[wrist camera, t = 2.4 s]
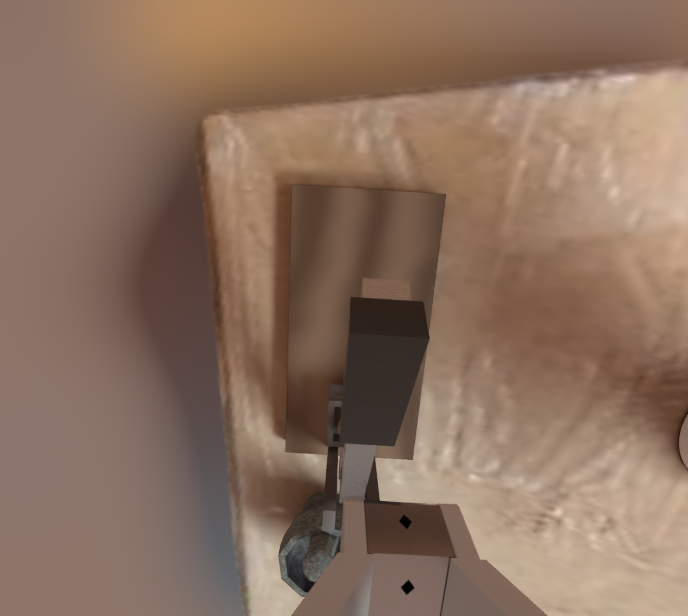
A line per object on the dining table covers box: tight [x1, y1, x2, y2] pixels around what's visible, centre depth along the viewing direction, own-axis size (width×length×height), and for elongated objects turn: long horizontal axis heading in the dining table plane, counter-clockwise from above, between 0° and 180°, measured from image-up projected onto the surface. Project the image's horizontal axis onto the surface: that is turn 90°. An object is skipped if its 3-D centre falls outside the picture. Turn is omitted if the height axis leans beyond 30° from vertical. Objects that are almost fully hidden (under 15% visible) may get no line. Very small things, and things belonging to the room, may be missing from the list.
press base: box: [285, 184, 446, 532], centre depth 33 cm, size 14×28×13 cm, turn 176°
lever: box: [339, 278, 429, 503], centre depth 24 cm, size 3×24×4 cm, turn 176°
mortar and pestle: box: [278, 492, 343, 597], centre depth 39 cm, size 11×9×12 cm
